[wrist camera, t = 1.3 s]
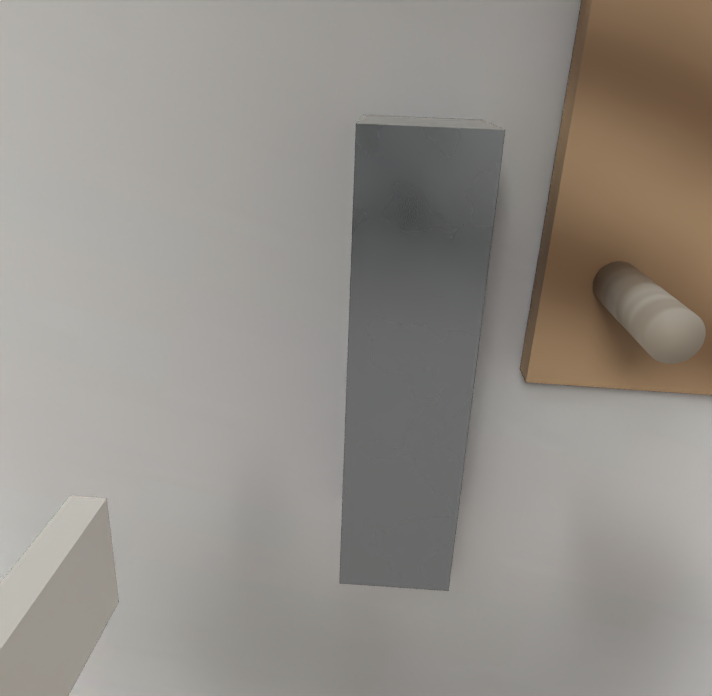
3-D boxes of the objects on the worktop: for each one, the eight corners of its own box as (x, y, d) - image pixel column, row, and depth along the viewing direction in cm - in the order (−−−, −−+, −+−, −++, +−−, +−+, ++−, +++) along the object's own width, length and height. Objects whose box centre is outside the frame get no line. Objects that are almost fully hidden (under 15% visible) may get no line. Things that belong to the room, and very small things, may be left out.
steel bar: (363, 114, 22) (356, 123, 17) (481, 119, 22) (505, 129, 17) (348, 500, 28) (339, 583, 23) (439, 506, 28) (448, 590, 23)
